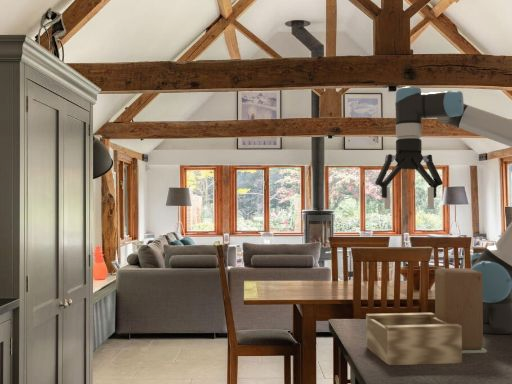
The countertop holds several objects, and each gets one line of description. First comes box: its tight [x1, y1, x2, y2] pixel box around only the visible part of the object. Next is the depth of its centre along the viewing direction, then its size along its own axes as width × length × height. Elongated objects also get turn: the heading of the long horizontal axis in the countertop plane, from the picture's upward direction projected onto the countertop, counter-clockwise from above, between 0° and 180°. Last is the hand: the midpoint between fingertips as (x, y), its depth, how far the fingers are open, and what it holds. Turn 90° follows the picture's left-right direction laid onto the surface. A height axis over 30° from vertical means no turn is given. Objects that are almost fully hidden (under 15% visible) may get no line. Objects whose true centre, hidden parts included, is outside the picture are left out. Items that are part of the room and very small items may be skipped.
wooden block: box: [434, 267, 484, 349], centre depth 155 cm, size 10×10×20 cm
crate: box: [365, 312, 463, 366], centre depth 148 cm, size 18×18×9 cm
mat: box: [462, 348, 488, 354], centre depth 154 cm, size 10×10×1 cm
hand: (409, 209), depth 177 cm, fingers open, 13 cm apart
